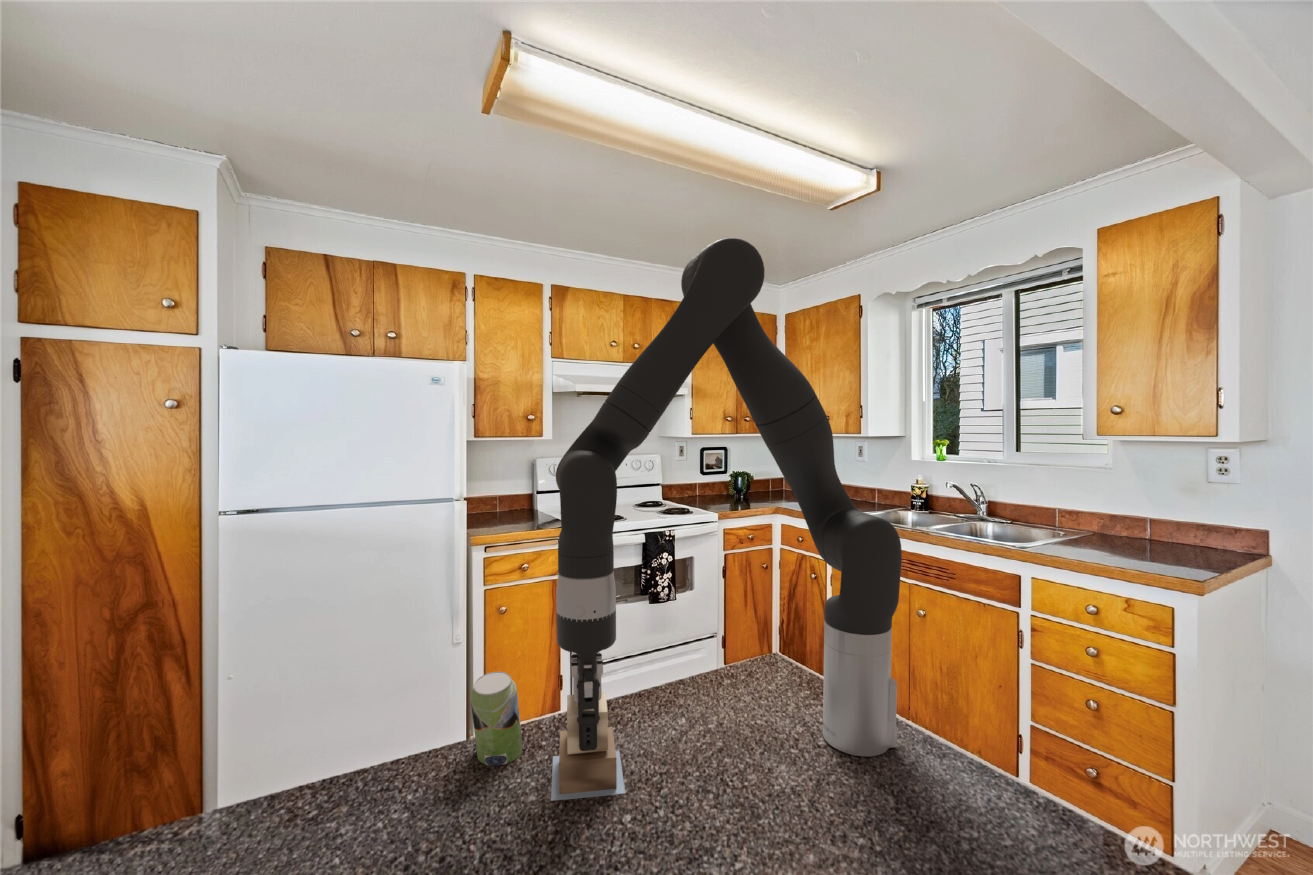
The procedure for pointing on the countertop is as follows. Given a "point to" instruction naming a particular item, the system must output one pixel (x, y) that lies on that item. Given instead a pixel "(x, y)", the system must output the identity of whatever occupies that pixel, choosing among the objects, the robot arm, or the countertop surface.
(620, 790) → the board
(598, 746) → the maple cube
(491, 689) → the beverage can
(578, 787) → the walnut block
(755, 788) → the countertop surface
